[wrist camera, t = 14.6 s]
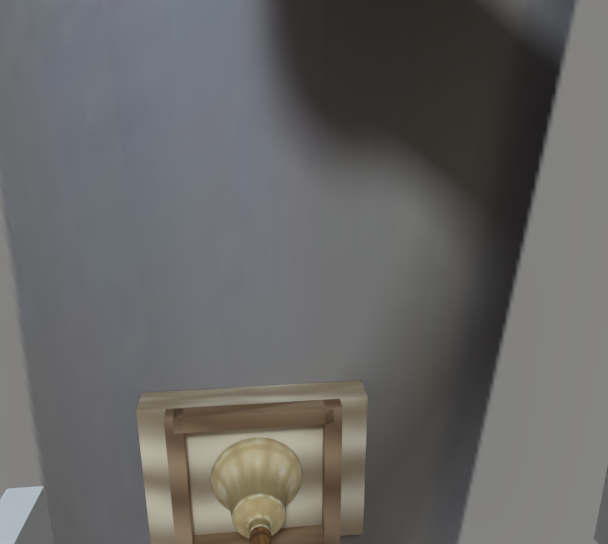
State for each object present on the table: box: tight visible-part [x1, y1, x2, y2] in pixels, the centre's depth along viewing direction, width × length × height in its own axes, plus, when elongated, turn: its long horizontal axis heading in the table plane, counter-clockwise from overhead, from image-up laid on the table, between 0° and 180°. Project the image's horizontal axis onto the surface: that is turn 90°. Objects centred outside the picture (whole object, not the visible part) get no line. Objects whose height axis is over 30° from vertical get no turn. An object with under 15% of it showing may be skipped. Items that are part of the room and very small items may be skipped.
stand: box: [136, 380, 368, 544], centre depth 50 cm, size 15×20×4 cm
